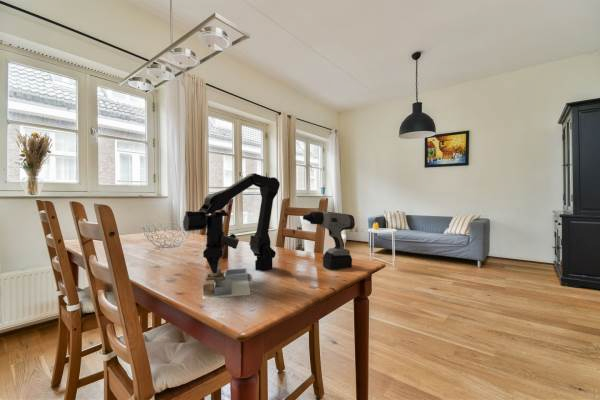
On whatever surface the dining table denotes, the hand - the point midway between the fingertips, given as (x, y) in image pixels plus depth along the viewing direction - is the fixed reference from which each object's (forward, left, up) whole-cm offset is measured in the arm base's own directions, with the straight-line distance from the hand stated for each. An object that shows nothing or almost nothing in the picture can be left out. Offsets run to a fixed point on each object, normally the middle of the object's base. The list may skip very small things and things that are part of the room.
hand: (215, 271), depth 96 cm
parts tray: (-8, 0, -3) cm, 8 cm away
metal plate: (-3, +14, -3) cm, 14 cm away
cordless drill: (-47, -7, -4) cm, 48 cm away
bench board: (-5, +6, -4) cm, 8 cm away
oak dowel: (0, 0, -3) cm, 3 cm away
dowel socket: (0, 0, -3) cm, 3 cm away
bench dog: (+1, +14, -3) cm, 14 cm away
